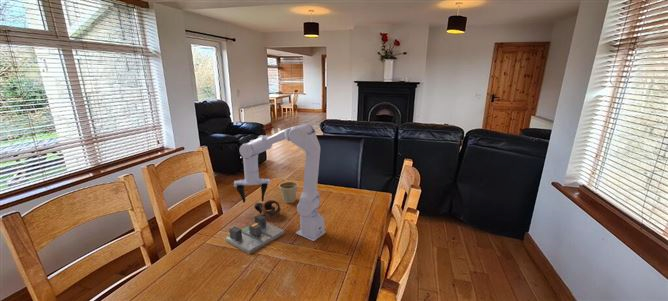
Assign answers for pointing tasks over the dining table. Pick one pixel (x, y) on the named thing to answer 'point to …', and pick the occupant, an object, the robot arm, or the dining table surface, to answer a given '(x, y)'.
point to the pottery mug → (268, 208)
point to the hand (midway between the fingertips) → (253, 200)
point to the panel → (251, 242)
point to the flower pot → (288, 191)
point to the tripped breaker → (255, 229)
